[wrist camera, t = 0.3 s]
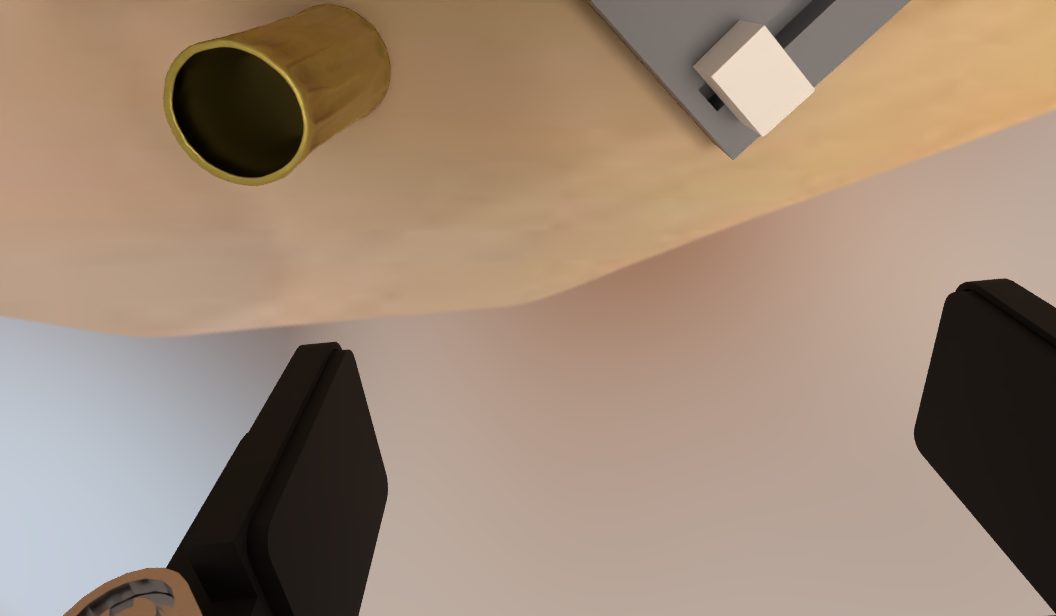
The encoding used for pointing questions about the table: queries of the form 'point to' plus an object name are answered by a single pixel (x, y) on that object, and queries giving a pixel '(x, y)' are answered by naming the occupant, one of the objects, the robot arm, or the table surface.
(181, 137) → the vase
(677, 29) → the panel
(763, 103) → the white block
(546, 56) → the table surface
